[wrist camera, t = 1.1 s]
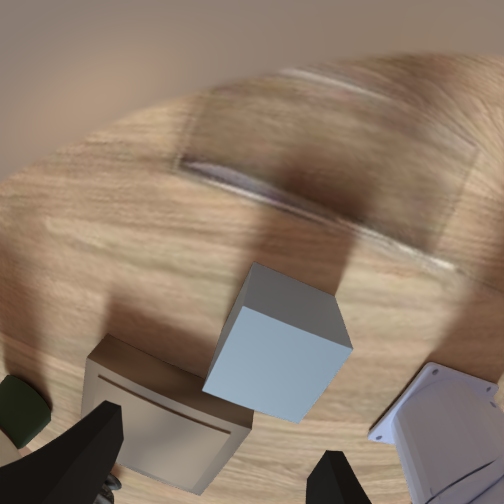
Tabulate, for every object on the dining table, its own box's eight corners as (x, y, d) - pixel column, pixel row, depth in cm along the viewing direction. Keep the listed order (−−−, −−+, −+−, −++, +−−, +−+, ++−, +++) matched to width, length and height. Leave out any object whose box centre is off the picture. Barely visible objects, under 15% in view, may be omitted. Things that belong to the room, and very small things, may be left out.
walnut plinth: (255, 398, 20) (251, 431, 17) (206, 470, 24) (199, 496, 21) (107, 333, 20) (85, 358, 17) (93, 421, 23) (78, 444, 20)
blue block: (334, 295, 18) (353, 349, 13) (295, 361, 19) (298, 423, 14) (253, 261, 18) (242, 305, 12) (221, 332, 19) (201, 390, 14)
